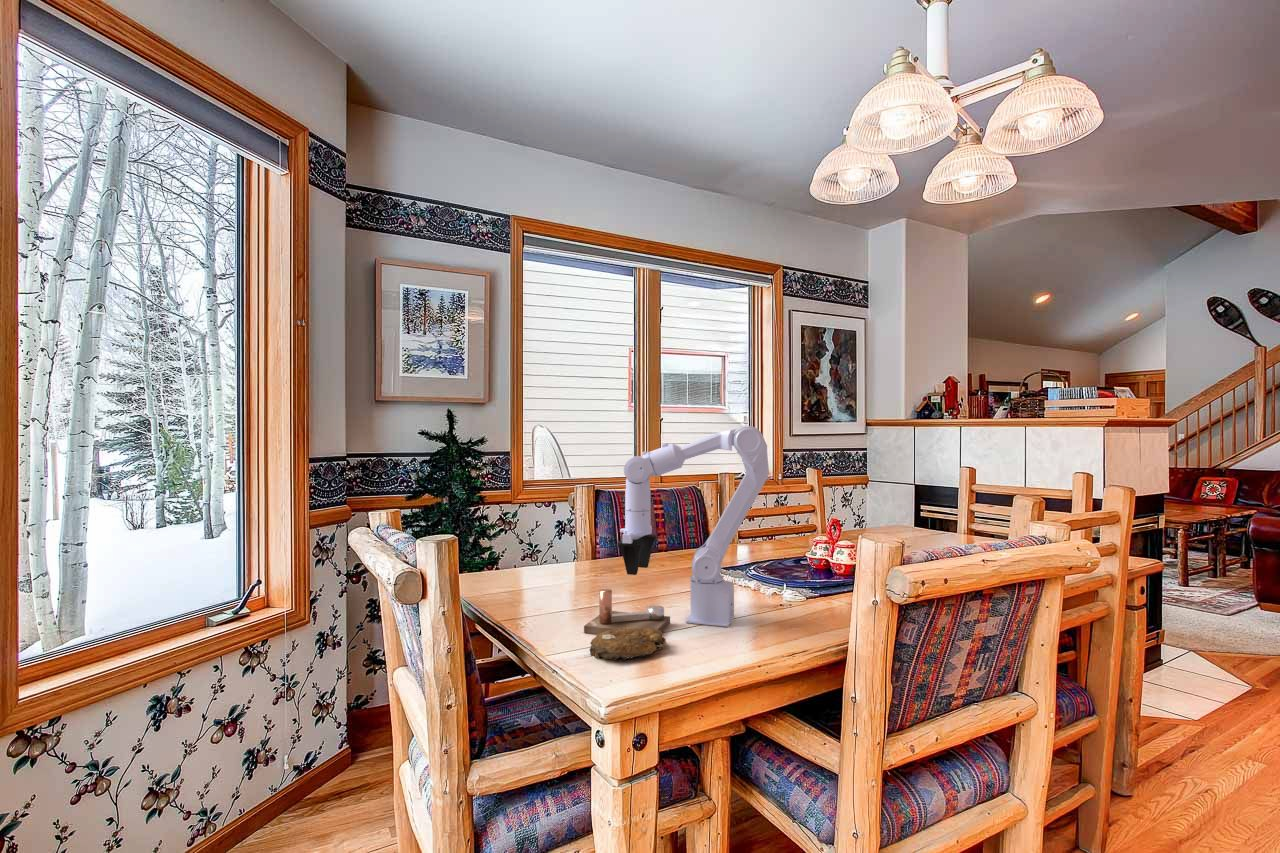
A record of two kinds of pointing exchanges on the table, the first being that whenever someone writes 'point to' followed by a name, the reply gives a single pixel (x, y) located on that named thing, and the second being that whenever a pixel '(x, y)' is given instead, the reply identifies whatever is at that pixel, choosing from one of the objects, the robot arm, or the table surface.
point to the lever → (608, 617)
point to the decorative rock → (626, 643)
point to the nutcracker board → (625, 624)
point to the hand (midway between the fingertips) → (637, 570)
